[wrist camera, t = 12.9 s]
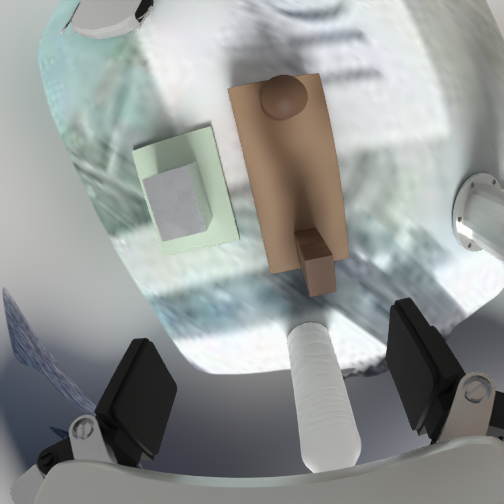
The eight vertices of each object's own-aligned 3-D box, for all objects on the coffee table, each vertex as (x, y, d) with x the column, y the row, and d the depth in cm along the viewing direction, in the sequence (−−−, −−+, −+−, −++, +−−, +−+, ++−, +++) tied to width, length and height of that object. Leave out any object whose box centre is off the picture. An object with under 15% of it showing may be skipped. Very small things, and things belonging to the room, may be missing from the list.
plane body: (309, 81, 27) (339, 55, 16) (337, 241, 35) (370, 289, 24) (231, 95, 28) (218, 73, 17) (268, 255, 36) (274, 310, 25)
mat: (211, 126, 29) (210, 126, 29) (239, 238, 35) (239, 240, 34) (133, 150, 30) (131, 151, 30) (165, 254, 36) (164, 256, 35)
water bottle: (313, 357, 43) (341, 499, 20) (279, 345, 42) (292, 500, 19) (345, 318, 40) (401, 468, 17) (310, 303, 39) (353, 471, 16)
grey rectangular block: (197, 160, 30) (187, 165, 26) (213, 217, 33) (206, 231, 29) (157, 172, 31) (142, 179, 26) (174, 226, 34) (162, 242, 29)
